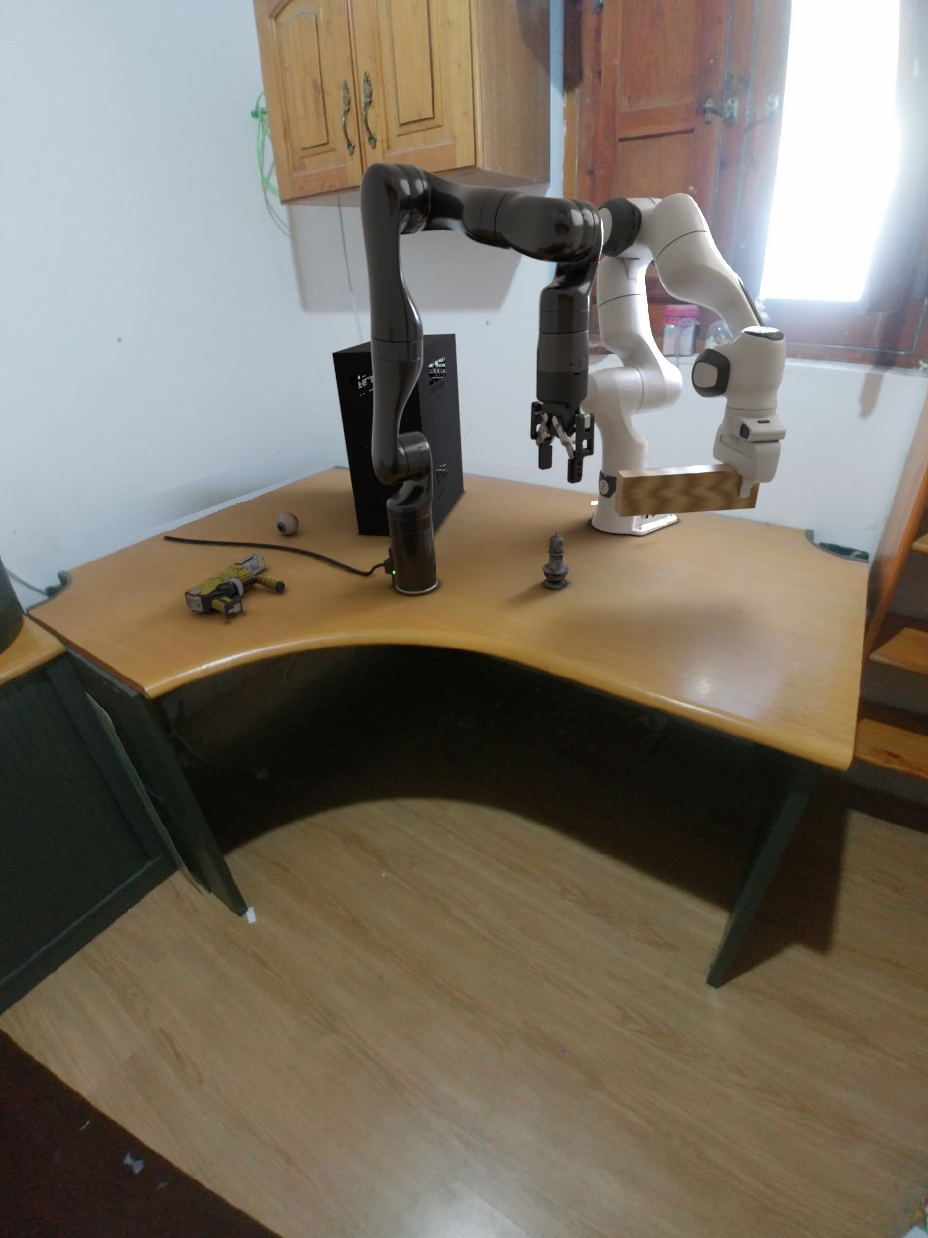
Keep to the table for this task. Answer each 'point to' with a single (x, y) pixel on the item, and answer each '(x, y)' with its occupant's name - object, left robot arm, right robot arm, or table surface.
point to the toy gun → (230, 587)
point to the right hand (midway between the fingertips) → (736, 492)
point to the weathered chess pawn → (555, 564)
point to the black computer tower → (402, 429)
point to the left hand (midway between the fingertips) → (559, 475)
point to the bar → (680, 490)
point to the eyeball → (287, 523)
